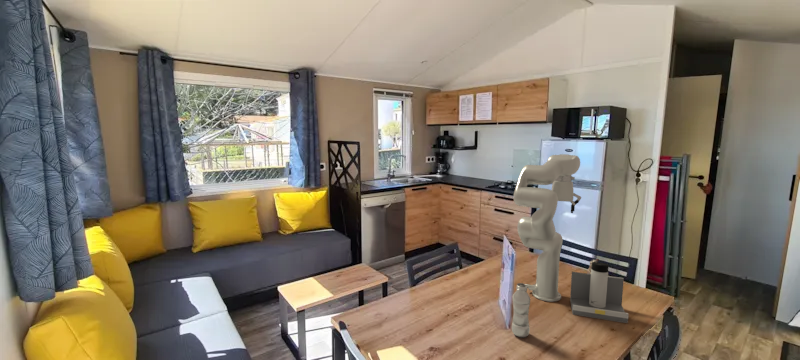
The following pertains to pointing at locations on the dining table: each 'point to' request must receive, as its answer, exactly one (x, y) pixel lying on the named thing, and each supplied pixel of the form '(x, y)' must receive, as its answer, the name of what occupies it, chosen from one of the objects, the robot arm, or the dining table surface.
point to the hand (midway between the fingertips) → (561, 211)
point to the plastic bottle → (521, 311)
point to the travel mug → (598, 285)
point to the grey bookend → (613, 298)
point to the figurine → (591, 266)
